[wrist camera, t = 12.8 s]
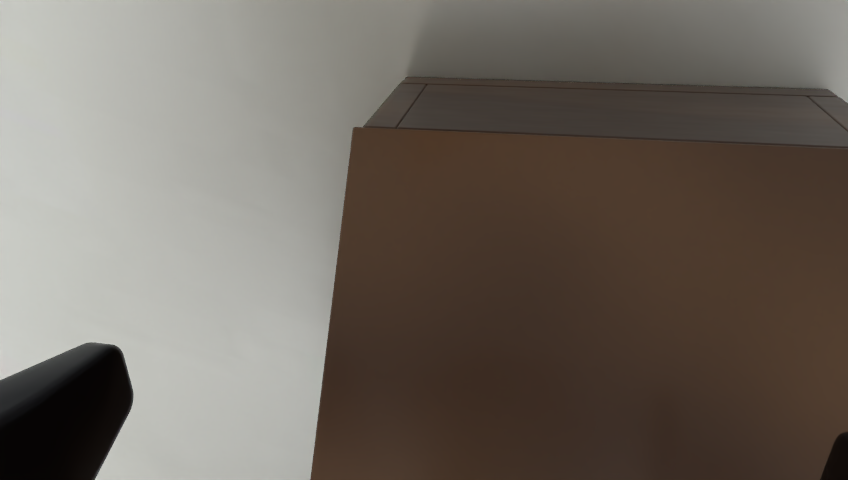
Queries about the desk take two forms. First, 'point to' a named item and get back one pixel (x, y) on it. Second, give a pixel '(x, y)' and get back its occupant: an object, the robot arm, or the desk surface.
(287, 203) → the desk surface
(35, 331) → the desk surface
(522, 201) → the lid
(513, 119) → the storage box
